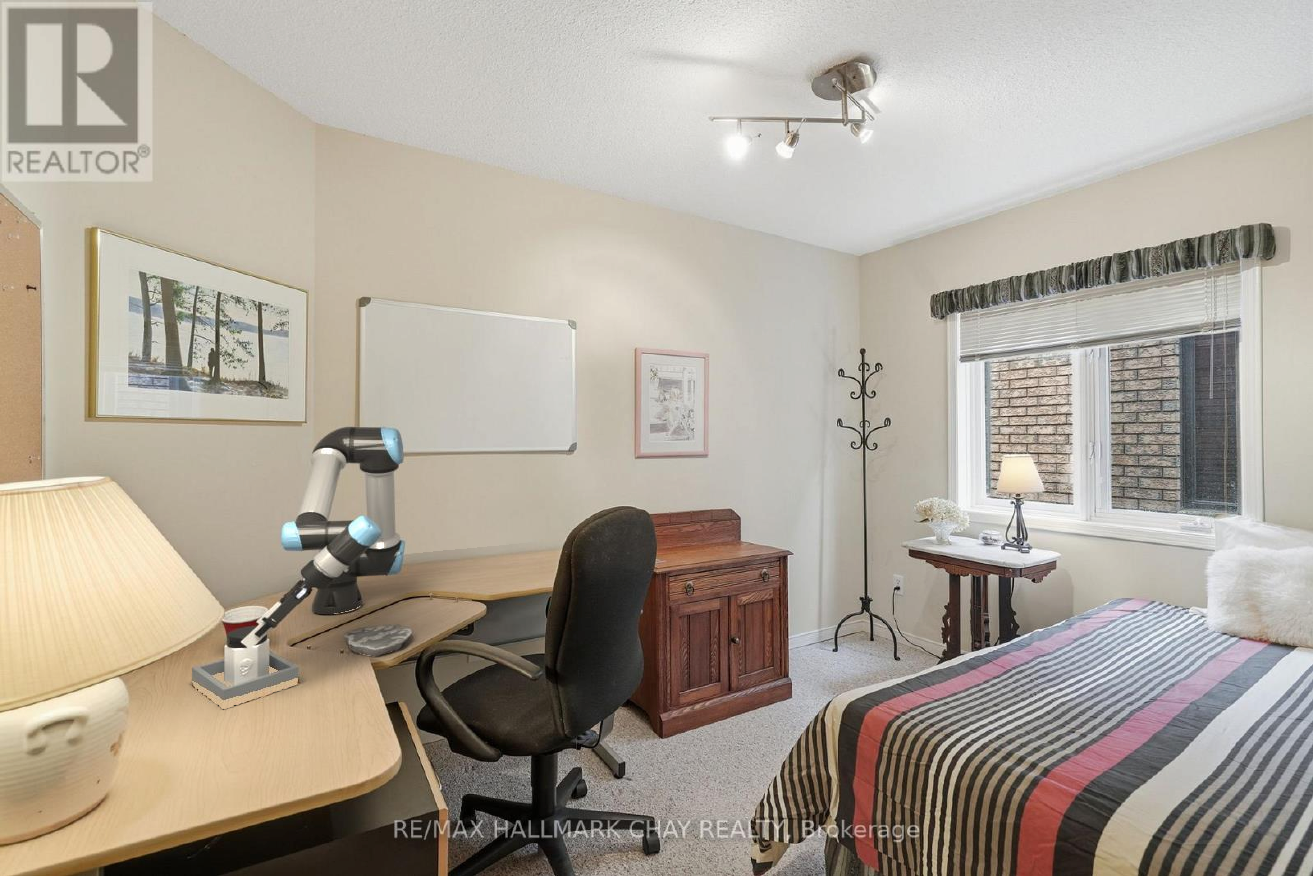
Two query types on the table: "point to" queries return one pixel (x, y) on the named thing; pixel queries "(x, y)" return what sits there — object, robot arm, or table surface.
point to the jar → (245, 657)
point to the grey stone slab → (377, 639)
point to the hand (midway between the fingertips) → (253, 634)
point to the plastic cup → (242, 617)
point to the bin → (207, 681)
